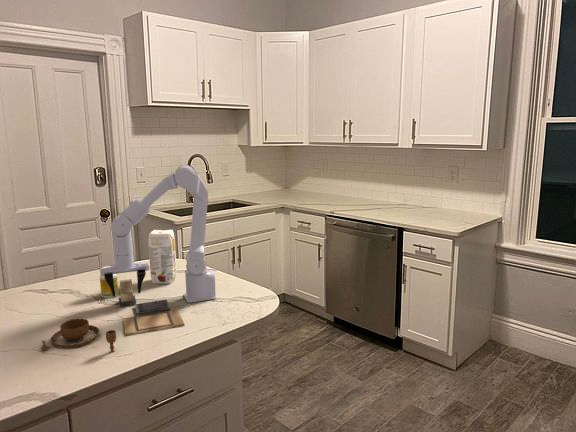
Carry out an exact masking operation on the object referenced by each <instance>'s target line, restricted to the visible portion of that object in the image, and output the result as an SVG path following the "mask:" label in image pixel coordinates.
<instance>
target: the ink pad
mask: <svg viewBox="0 0 576 432" xmlns="http://www.w3.org/2000/svg"><path fill="white" fill-rule="evenodd" d="M134 309H135V313H136V316H140V315H146V314H152V313H159V312H165V311H172V310H171V305H170V303H169V301H168V299H160V300H154V301H146V302H140V303H136V304H135V305H134Z"/></svg>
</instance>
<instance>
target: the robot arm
mask: <svg viewBox="0 0 576 432" xmlns="http://www.w3.org/2000/svg"><path fill="white" fill-rule="evenodd" d="M178 187H180V188H182V189H184V190H187V192H188V193H189V194H190V195H192V197H193V201H192V202H193V203H192V216H191V229H190V231H191V232H190V241H189V242H190V243H189V250H188V252H187V254H186V257H185V261H186V265H185V267H186V270H185V271H184V272H185V273H184V274H185V293H183V296H184V298H185V300H186V302H187V303H189V304H191V303H196V302H203V301H204V302H205V301H209V300H215V299H217V296H216V278H215V272H214V270H212V269H209V270H208V269H207V263H206V256H205V238H206V226H207V225H206V224H207V214H208V203H209V191H208V189H207V187H206V185H205V183H204V181H203V180H202V178H201V176H200V175H199V173H198V171H196V170H195V169H194V168H193V167H191V165H187V164H183V165H180V166H178V167H177V168H176V170H173V171H172V172H170V173H169V174H168V175H167V176H165V177H163V179H161V180H160V181H159V182H158V183H157V184H156V186H155V187H153V188H152V189H151V190H150V191H149V192H148V193H147V194H146V195H145V196H144V197H143V198H136V199H135V200H134V199H132V200H131V201H130V202H129V205H128V206H127V207H126V208H125V209H124V210H123V211H119V212H118V215H117V216H115V218H114V219H113V220H112V221H111V224H110V231H111V233H112V239H113V240H112V244H113V245H112V246H113V258H114V265H113V266H112V267H107V268H103V267H101V268H100V269H99V272H100V275H101V276H105V280H106V282H107V283H108V285H109V287H110V289H111V291H112V294H113V297H114V298H115V297H116V296H115V290H114V282H113V274H118V275H119V274H125V273H134V272H136V277H137V278H136V279H137V294H141V290H142V285H143V281H144V279H145V277H146V274H147V273H146V271H150V264H149V262H147V263H145V262H144V263H135V262H134V261H135V260H134V246H133V238H132V227H133V226H136V225H137V224H139V223H140V222H141V221H142V220H143V219H144V218H145V217H146V216H147V215H148V214H149V213H151V206H152V205H153V204H154V203H155V202H157V200H159V199H160V198H162V196H163V195H164V194H166V193H167V192H168V191H169V190H175V189H178ZM113 297H112V298H113Z"/></svg>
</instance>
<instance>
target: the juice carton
mask: <svg viewBox="0 0 576 432" xmlns="http://www.w3.org/2000/svg"><path fill="white" fill-rule="evenodd" d="M147 243H148V258H149V259H148V260H149V272H150V273H149V274H150V279H151V282H152V284H154V285H157V284H160V285H161V284H164V285H165V284H166V285H167V284H172V283H173V282H174V281H175V279H176V276H177V255H176V254H177V252H176V238H175V233H174V230H173V229H166V230H164V229H163V230H162V229H153V230H152V231H151V232H149V234H148V242H147Z"/></svg>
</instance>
